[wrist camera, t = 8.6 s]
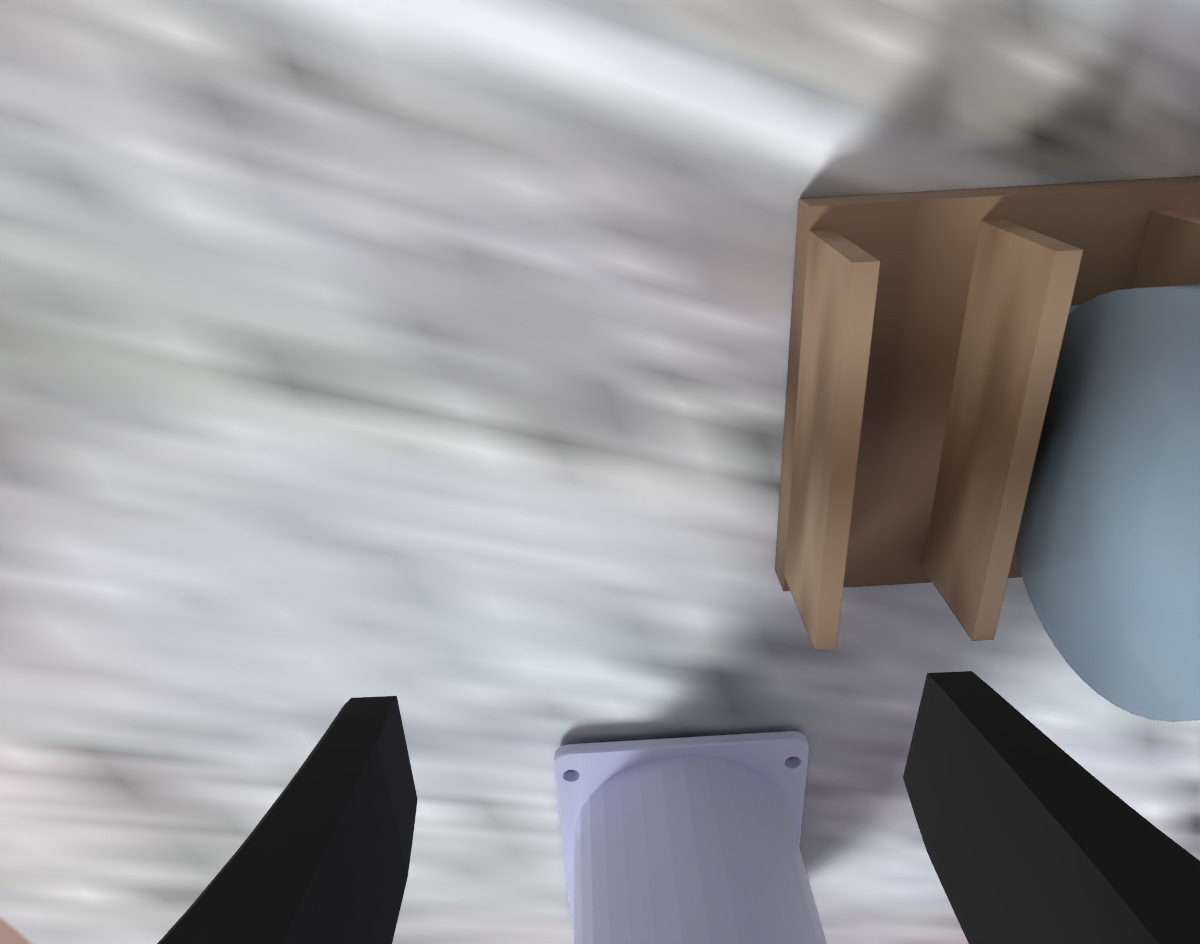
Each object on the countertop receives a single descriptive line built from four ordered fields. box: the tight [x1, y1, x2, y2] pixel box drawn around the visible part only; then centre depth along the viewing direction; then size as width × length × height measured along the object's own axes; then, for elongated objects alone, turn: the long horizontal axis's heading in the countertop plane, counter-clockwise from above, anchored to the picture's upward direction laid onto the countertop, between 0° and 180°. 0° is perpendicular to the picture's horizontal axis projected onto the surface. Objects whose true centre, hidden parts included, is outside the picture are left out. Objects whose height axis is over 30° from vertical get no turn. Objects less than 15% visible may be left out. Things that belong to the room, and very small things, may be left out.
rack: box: [775, 176, 1200, 650], centre depth 18 cm, size 10×12×4 cm
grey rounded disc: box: [1015, 285, 1200, 722], centre depth 15 cm, size 8×2×8 cm, turn 3°
